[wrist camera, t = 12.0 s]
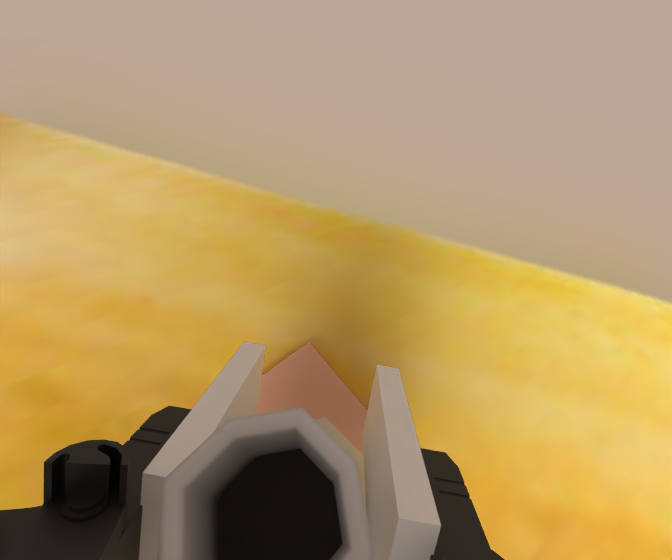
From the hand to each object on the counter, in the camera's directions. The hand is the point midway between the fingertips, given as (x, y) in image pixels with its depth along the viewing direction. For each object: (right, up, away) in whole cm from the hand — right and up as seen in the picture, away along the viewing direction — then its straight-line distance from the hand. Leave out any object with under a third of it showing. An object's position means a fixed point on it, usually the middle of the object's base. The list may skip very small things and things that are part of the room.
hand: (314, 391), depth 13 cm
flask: (-1, -5, +1) cm, 5 cm away
